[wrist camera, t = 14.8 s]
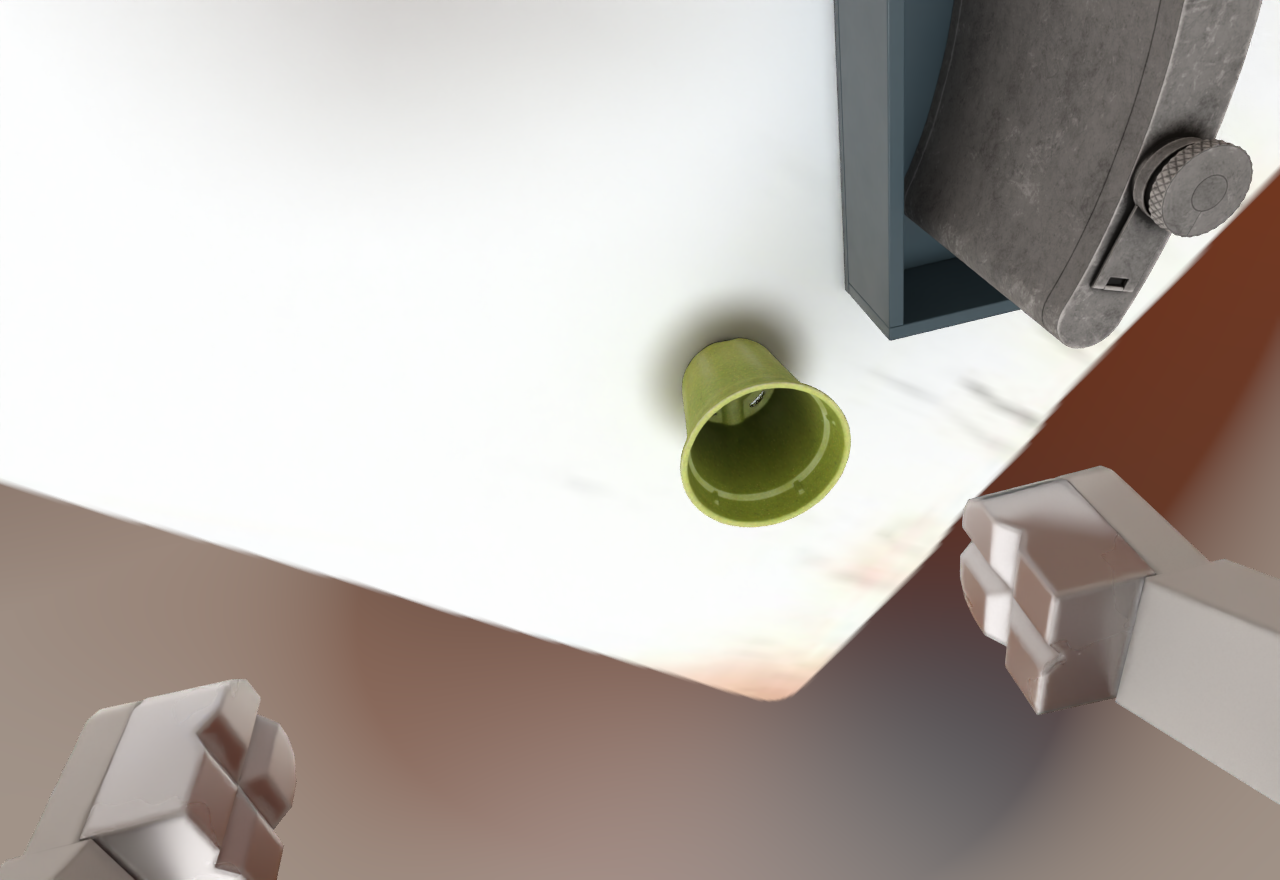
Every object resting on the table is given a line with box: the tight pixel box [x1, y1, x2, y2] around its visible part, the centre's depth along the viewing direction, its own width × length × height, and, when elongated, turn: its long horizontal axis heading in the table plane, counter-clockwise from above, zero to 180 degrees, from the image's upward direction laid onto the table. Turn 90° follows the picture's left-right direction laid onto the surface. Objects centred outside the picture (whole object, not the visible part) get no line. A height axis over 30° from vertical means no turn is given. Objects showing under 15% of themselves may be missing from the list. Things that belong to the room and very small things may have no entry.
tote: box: [834, 0, 1020, 340], centre depth 41 cm, size 22×13×7 cm, turn 10°
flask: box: [904, 0, 1262, 348], centre depth 36 cm, size 4×14×18 cm, turn 175°
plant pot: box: [680, 338, 851, 527], centre depth 48 cm, size 9×9×9 cm
